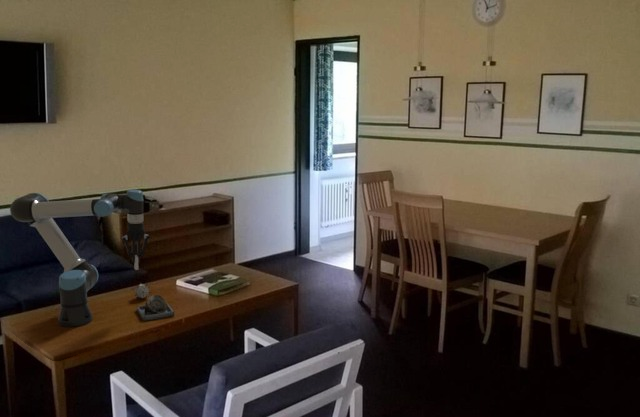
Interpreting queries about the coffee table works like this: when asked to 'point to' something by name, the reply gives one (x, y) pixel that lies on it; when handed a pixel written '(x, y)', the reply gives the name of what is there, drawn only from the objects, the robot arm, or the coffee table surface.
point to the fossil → (155, 304)
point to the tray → (151, 315)
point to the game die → (141, 291)
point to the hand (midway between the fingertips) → (136, 268)
